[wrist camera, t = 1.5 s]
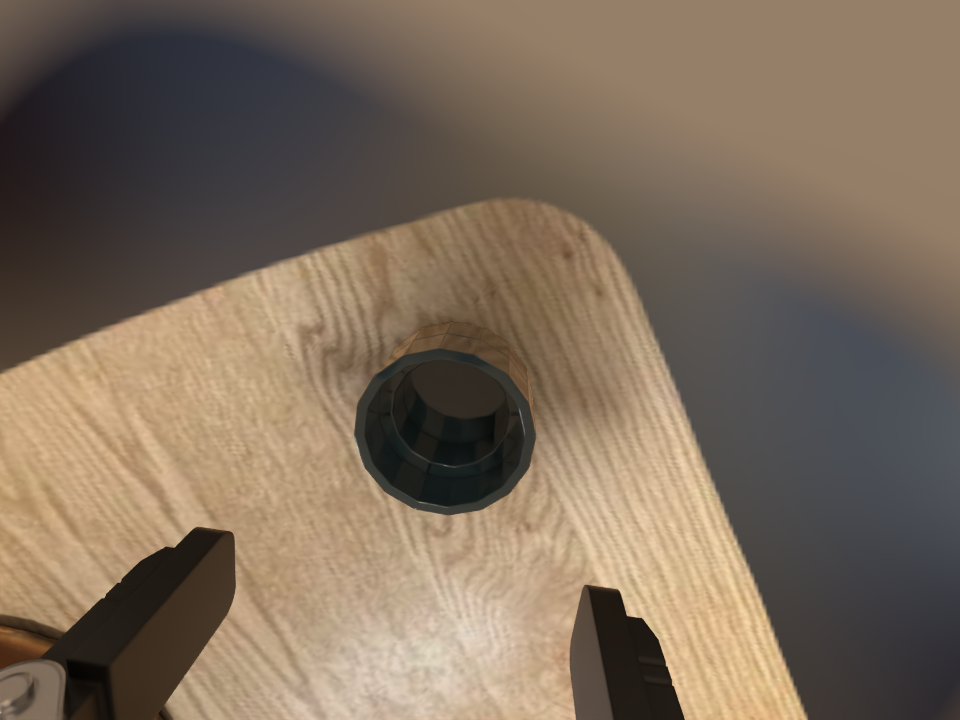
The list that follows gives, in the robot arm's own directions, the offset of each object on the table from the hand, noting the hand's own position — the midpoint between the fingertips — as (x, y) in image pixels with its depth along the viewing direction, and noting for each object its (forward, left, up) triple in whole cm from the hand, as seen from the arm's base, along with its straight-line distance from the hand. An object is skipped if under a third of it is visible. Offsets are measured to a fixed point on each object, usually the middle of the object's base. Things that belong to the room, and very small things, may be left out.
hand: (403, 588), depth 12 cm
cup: (0, 0, -12) cm, 12 cm away
